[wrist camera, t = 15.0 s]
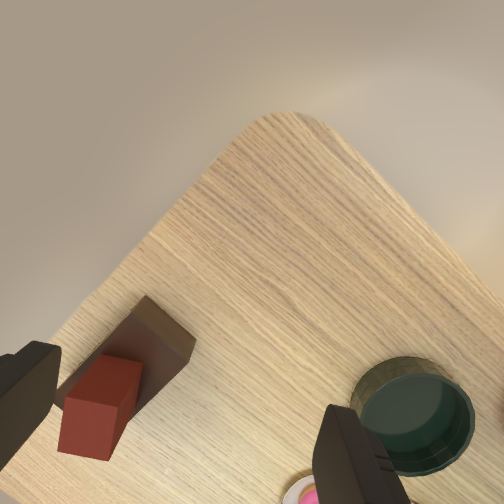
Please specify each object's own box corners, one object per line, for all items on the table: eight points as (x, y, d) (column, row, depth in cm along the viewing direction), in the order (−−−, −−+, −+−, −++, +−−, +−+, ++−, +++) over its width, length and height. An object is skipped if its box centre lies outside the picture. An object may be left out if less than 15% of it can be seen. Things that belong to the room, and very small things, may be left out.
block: (145, 294, 40) (131, 312, 35) (196, 339, 41) (189, 362, 36) (71, 372, 42) (48, 399, 37) (122, 413, 43) (105, 444, 38)
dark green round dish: (367, 346, 41) (377, 362, 38) (472, 369, 42) (491, 387, 38) (337, 441, 44) (344, 464, 40) (437, 461, 44) (452, 486, 41)
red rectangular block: (100, 353, 36) (64, 396, 29) (143, 362, 36) (118, 407, 29) (93, 399, 37) (56, 451, 30) (135, 408, 37) (108, 462, 30)
